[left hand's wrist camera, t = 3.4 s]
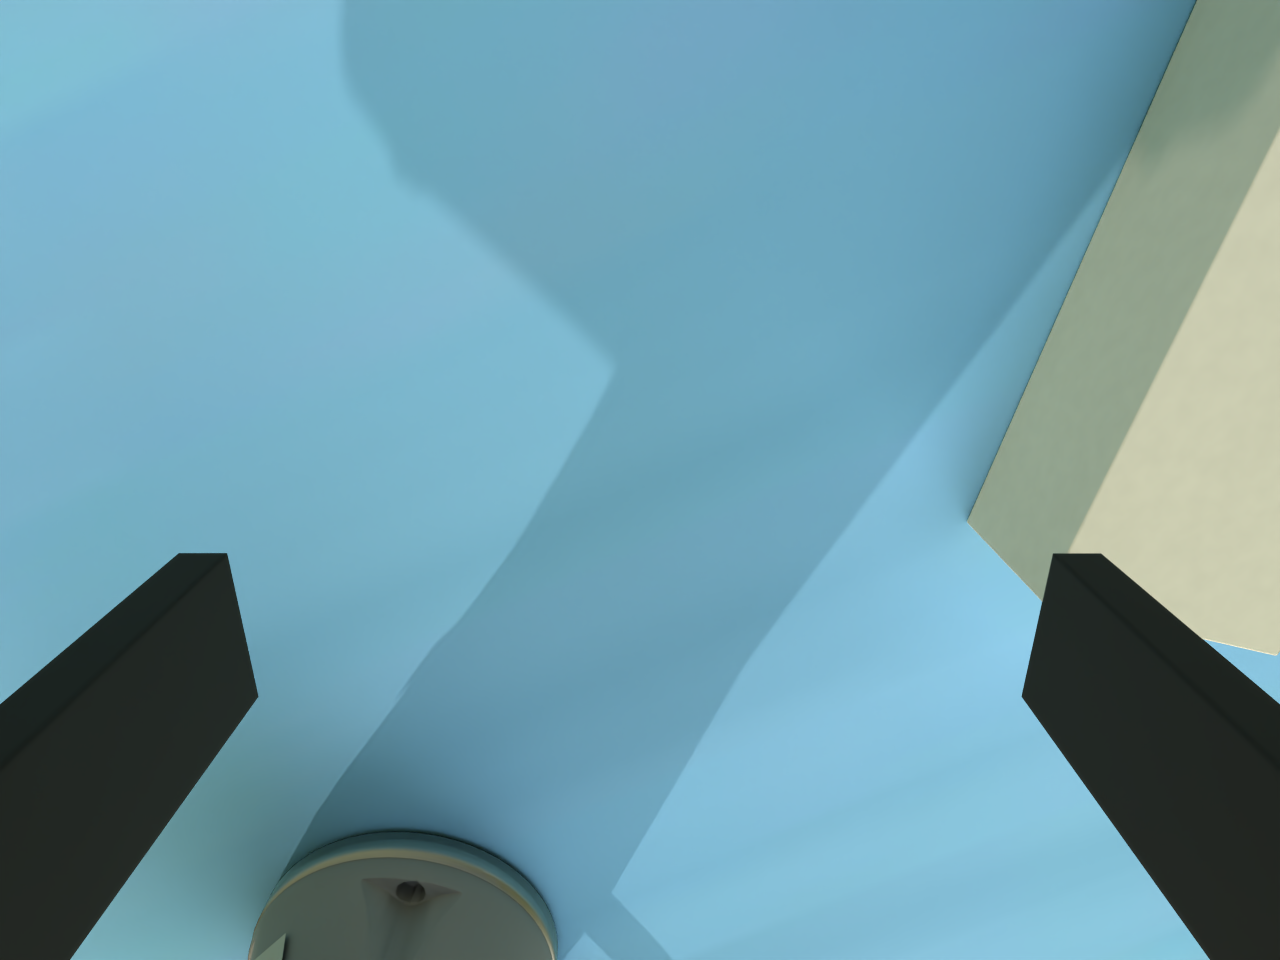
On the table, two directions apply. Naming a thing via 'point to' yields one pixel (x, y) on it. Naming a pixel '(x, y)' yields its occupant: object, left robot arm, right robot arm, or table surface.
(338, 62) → the table surface
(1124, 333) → the beige rectangular bar
